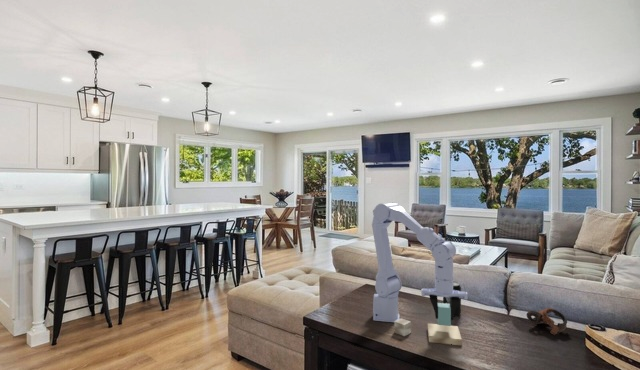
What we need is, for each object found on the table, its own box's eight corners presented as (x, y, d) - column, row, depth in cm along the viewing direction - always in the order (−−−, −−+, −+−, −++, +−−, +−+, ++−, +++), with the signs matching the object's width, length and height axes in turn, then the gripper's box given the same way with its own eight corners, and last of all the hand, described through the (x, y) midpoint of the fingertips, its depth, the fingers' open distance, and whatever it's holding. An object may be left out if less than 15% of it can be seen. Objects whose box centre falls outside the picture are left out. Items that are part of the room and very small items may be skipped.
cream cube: (394, 332, 119) (394, 321, 119) (401, 329, 122) (401, 318, 122) (404, 336, 116) (404, 325, 116) (410, 333, 119) (410, 321, 119)
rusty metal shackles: (553, 324, 127) (565, 309, 122) (562, 346, 119) (574, 331, 115) (519, 314, 129) (529, 299, 125) (525, 335, 121) (536, 319, 117)
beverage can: (462, 317, 132) (462, 286, 132) (444, 315, 133) (444, 285, 133) (459, 310, 139) (459, 281, 138) (441, 309, 140) (442, 280, 140)
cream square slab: (429, 341, 112) (429, 335, 112) (427, 328, 122) (427, 323, 122) (461, 345, 110) (461, 339, 110) (457, 331, 120) (457, 326, 120)
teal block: (438, 324, 115) (438, 306, 115) (437, 320, 119) (437, 302, 118) (450, 326, 114) (450, 308, 114) (449, 321, 118) (449, 303, 117)
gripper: (421, 280, 114) (421, 320, 114) (469, 283, 110) (469, 325, 110) (421, 274, 120) (421, 312, 121) (465, 277, 117) (465, 316, 117)
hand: (443, 318), depth 116 cm, fingers closed on teal block, 4 cm apart
